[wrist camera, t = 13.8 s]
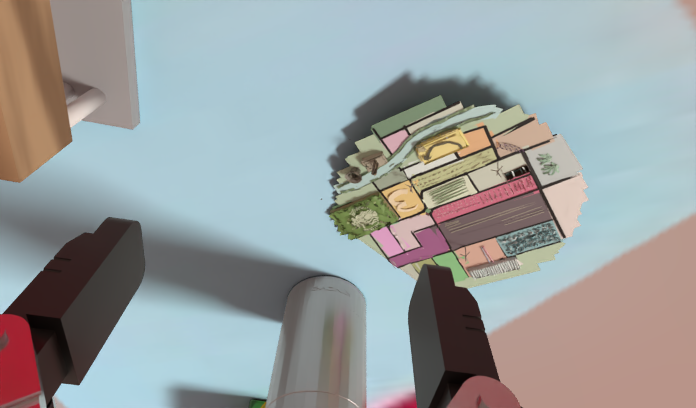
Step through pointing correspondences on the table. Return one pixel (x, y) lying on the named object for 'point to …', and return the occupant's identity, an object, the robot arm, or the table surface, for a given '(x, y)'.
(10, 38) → the brown wooden block
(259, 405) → the green yellow handled box
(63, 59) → the peg rack
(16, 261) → the table surface
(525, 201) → the city model
